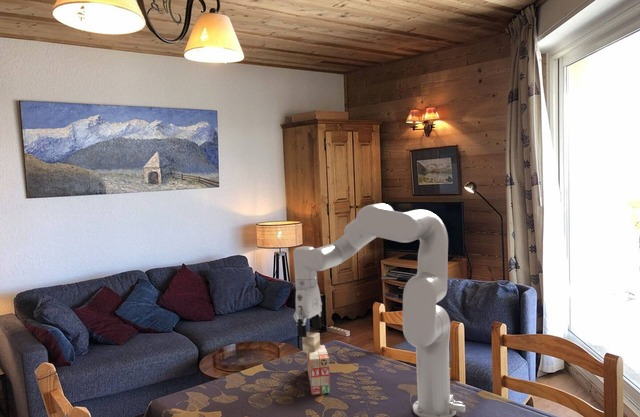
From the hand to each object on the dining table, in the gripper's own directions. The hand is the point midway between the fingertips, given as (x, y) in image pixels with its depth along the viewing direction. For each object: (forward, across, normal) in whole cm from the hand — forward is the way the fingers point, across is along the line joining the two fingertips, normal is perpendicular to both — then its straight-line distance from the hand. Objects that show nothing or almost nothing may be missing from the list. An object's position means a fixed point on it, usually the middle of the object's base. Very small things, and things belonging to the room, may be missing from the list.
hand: (309, 332), depth 172 cm
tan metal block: (+6, +1, 0) cm, 6 cm away
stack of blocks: (+18, +3, 0) cm, 19 cm away
